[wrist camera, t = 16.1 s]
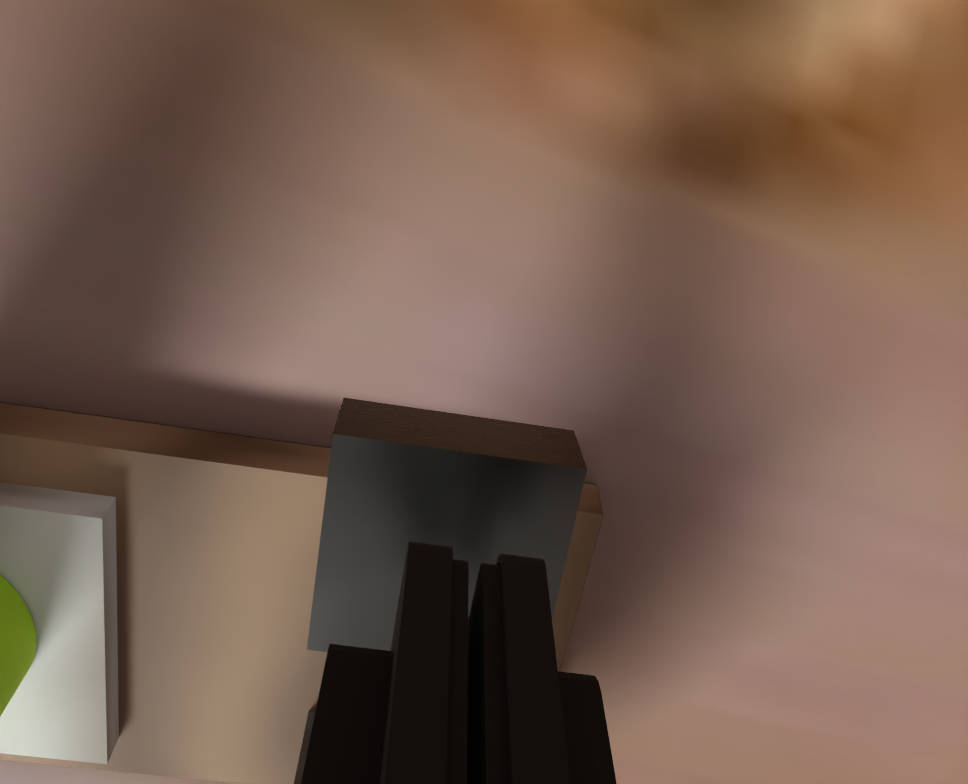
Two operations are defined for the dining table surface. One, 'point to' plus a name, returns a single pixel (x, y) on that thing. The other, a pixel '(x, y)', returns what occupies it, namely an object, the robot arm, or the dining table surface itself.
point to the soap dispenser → (14, 641)
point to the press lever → (433, 508)
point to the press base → (176, 595)
